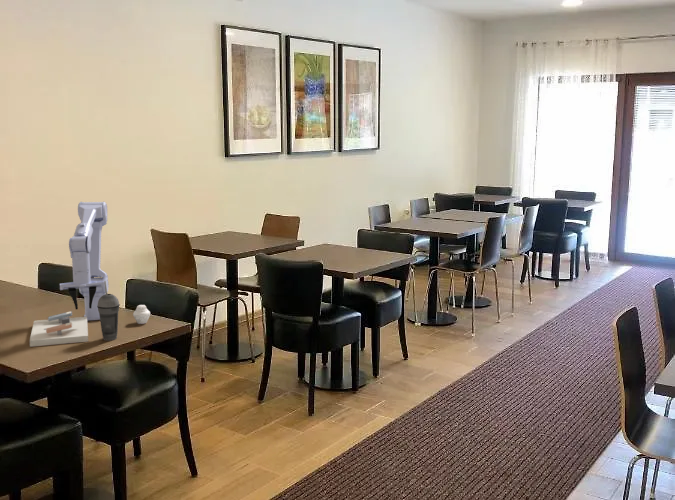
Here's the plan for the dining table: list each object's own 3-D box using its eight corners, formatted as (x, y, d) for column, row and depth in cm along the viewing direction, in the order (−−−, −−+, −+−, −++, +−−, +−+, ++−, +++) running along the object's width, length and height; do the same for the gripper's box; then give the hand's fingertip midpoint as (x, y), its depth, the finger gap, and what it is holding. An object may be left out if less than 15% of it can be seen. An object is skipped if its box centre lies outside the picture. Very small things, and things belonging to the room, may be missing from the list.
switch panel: (87, 321, 255) (86, 312, 255) (88, 341, 231) (87, 331, 231) (34, 326, 249) (33, 317, 249) (29, 346, 225) (29, 336, 225)
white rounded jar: (130, 322, 255) (129, 304, 253) (144, 319, 259) (144, 301, 258) (139, 326, 250) (138, 307, 249) (153, 322, 255) (153, 304, 254)
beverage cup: (108, 343, 230) (105, 284, 227) (94, 339, 234) (91, 281, 230) (125, 337, 236) (123, 280, 233) (111, 334, 240) (108, 278, 236)
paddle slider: (69, 325, 242) (69, 317, 242) (69, 327, 240) (69, 319, 239) (62, 326, 242) (62, 317, 241) (62, 328, 239) (61, 319, 238)
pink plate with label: (71, 325, 235) (71, 322, 235) (71, 327, 232) (71, 324, 232) (47, 331, 233) (46, 328, 232) (46, 333, 230) (46, 330, 230)
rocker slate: (72, 313, 250) (71, 310, 250) (72, 315, 247) (71, 312, 247) (49, 319, 247) (48, 316, 247) (48, 321, 245) (47, 318, 244)
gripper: (58, 273, 233) (61, 312, 236) (103, 271, 238) (105, 309, 241) (59, 269, 240) (61, 307, 242) (103, 267, 245) (104, 304, 247)
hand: (83, 308), depth 242 cm, fingers open, 4 cm apart
